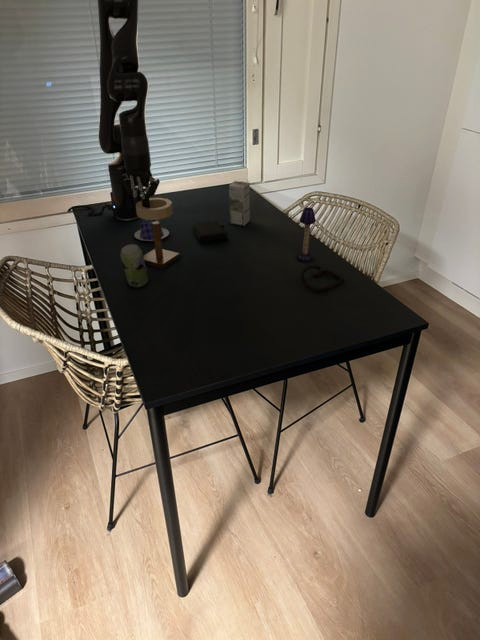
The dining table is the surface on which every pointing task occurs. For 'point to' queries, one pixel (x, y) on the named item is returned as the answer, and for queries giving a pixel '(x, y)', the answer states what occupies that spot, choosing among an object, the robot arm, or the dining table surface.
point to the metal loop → (319, 275)
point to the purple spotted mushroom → (306, 232)
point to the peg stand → (159, 251)
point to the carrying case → (209, 231)
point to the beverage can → (134, 265)
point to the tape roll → (155, 209)
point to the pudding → (149, 231)
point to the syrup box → (239, 202)
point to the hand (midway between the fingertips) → (143, 209)
